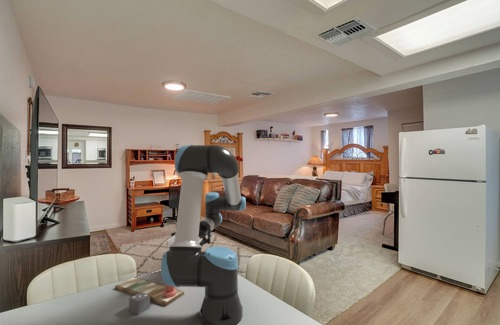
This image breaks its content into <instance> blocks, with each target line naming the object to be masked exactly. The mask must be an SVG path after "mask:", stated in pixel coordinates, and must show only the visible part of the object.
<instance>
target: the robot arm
mask: <svg viewBox="0 0 500 325" xmlns="http://www.w3.org/2000/svg"><path fill="white" fill-rule="evenodd" d="M239 167H240V166H239V162H238V160H237V158H236V157H235V156H234V154H233V153H232V152H231V151H229V150H228V149H227V148H226V147H224V146H222V145H218V144H211V145H210V144H209V145H208V144H204V145H202V144H197V145H195V144H194V145H193V144H189V145H182V146H180V147H179V148H178V150H176V154H175V158H174V170H175V171H176V173H178V177H179V178H180V179H181V183H180V190H179V193H180V194H179V202H178V209H177V219H176V225H175V226H176V227H175V231H174V232H171V233H170V237H169V238H168V239H167V240H166V247H169V249H168V250H167V251H165V252H164V253H163V254H162V258H161V263H160V273H161V274H160V275H161V278H162V281H163V283H164V284H165V286H166V285H168V286H174V287H175V288H179V287H181V288H182V287H183V288H184V287H186V288H204V297H203V301H202V303H201V307H200V310H199V321H200V320H201V321H200V322H201V324H203V325H235V324H236V323H237V324H239V323H240V322H241V320H242V319H243V317H244V316H243V312H244V311H243V310H244V309H243V305H242V303H241V299H240V295H239V292H238V290H239V289H238V282H239V281H238V276H239V274H238V271H239V270H238V268H239V264H238V263H239V262H238V254H237V253H236V252H235V251H234V250H232V249H231V248H229V247H225V246H217V245H216V246H210V247H207V248H206V249H205V250H204V251H202V249H203V248H202V247H203V246H204V245H206V244H208V245H211V238H212V235H213V234H212V231H213V230H214V229H216V228H218V227H219V225H220V224H221V223H222V222H223V216H222V214H221V213H220V212H221V211H224V212H225V211H226V212H227V211H234V212H235V211H236V212H240V211H242V212H243V211H245V210H246V208H247V207H246V206H247V202H246V201H247V200H246V197H245V196H242V195H241V194H242V193H241V189H240V182H239V176H238V173H239V172H240V168H239ZM214 173H216V174H218V175H217V176H219V177H220V178H221V183H222V184H223V189H224V194H225V196H220V193H218V192H214V191H213V192H211V191H210V192H208V193H205V195H204V210H205V217H204V218H203V219H202V220H201V211H202V201H203V189H204V181H206V180H207V179H208V174H214ZM239 321H240V322H239ZM237 324H236V325H237Z"/></svg>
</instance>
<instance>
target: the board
mask: <svg viewBox="0 0 500 325" xmlns="http://www.w3.org/2000/svg"><path fill="white" fill-rule="evenodd" d="M165 289H166V285H164V284H160V283H157V282H154V281H150V280H146V279H143V278H140V277H136V276H135V277H131V278H130V279H128V280H125V281H122V282H121V283H119V284H117V285H115V286H114V290H117V291H120V292H123V293H127V294H129V295H132V296H134V295H136V294H138V293H140V292H143V293H146V294H149V295H150V302H152V303H154V304H158V305H161V306H163V307H167V306H169V305H170V304H172V303H174V302H175V301H176V300H178V299H180V298H181V297H183V296H184V295H185V291H184V290H180V289H177V288H175V289H176V295H175V296H174V297H171V298H165V297H164V296H163V291H164V290H165Z"/></svg>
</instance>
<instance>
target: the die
mask: <svg viewBox="0 0 500 325" xmlns="http://www.w3.org/2000/svg"><path fill="white" fill-rule="evenodd" d="M128 300H129V302H128V311H129V312H130V313H132V314H135V315H137V316H139V315H141V314H143V313H144V312H146V311H148V310H149V309H150V308H151V301H150V295H149V294H146V293H143V292H140V293H138V294H136V295H132V296H131V297H128Z"/></svg>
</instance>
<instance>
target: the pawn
mask: <svg viewBox="0 0 500 325" xmlns="http://www.w3.org/2000/svg"><path fill="white" fill-rule="evenodd" d="M165 286H166V289H165V290H164V291H163V296H164V297H165V298H171V297H174V296H175V295H176V289H177V288H176V287H175V286H168V285H166V284H165ZM174 287H175V288H174Z"/></svg>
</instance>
